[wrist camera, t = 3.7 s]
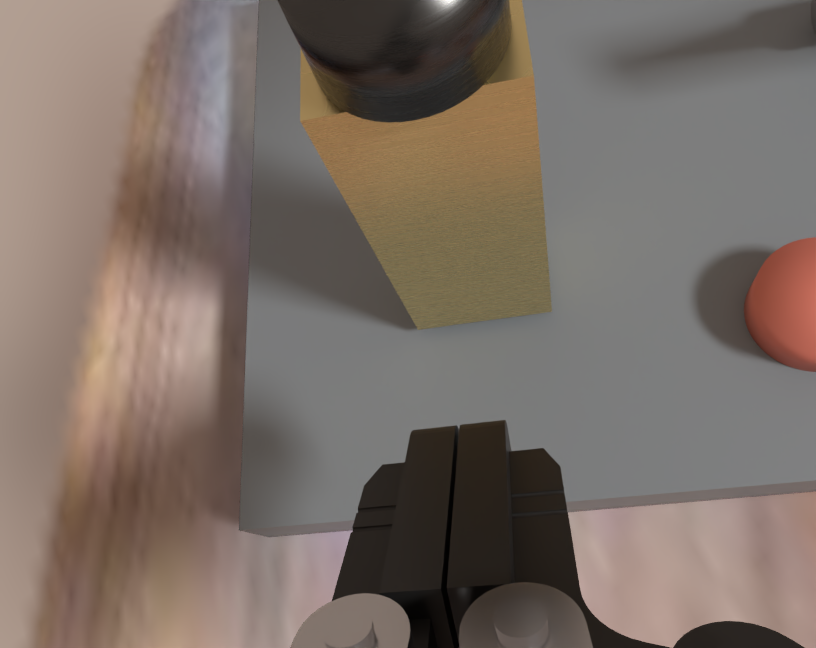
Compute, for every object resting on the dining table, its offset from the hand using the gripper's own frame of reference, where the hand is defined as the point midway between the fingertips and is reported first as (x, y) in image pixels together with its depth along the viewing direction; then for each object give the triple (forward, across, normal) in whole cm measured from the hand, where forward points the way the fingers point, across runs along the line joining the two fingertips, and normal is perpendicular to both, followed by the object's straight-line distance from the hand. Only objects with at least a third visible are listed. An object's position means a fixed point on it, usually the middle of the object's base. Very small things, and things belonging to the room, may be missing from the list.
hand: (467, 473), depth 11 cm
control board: (+13, -5, -1) cm, 14 cm away
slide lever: (+9, 0, 0) cm, 9 cm away
